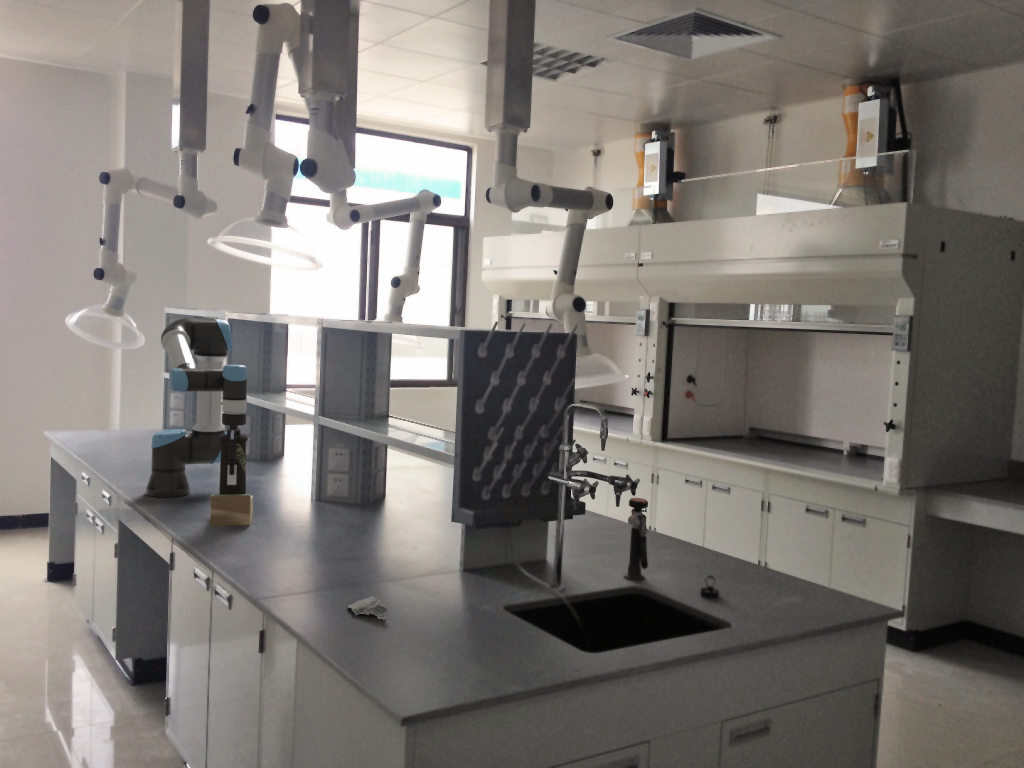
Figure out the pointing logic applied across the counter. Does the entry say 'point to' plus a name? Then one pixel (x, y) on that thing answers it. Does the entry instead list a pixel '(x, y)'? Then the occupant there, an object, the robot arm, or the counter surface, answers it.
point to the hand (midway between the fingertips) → (232, 481)
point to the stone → (369, 606)
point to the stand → (231, 509)
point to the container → (241, 466)
